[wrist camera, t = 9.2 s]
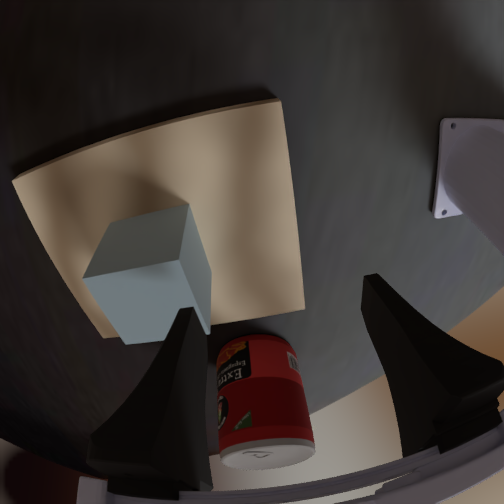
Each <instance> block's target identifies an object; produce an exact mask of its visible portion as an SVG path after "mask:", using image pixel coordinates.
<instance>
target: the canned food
mask: <svg viewBox="0 0 504 504" xmlns="http://www.w3.org/2000/svg"><path fill="white" fill-rule="evenodd" d="M217 404H218V434H219V451H220V457H221V462H222V463H223V464H224V465H226V466H229V467H232V468H237V469H245V470H264V469H274V468H281V467H285V466H290V465H293V464H297V463H299V462H302V461H304V460H307V459H308V458H310V457H311V456H312V455H314V454H315V443H314V438H313V431H312V427H311V422H310V417H309V412H308V408H307V403H306V398H305V393H304V389H303V384H302V380H301V375H300V370H299V366H298V361H297V357H296V353H295V352H294V350H293V349H292V347H291V346H290V344H289V343H288V342H286V341H285V340H283V339H281V338H279V337H276V336H271V335H264V334H255V335H247V336H242V337H239V338H236V339H234V340H232V341H230V342H228V343H227V344H226V345H224V347H223V348H222V349H221V351H220V353H219V355H218V358H217Z"/></svg>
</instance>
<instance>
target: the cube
mask: <svg viewBox="0 0 504 504" xmlns="http://www.w3.org/2000/svg"><path fill="white" fill-rule="evenodd" d="M82 280H83V281H84V283H85V285H86V286H87V288H88V289H89V291H90V293H91V294H92V296H93V297H94V299H95V300H96V302H97V304H98V305H99V307H100V308H101V310H102V311H103V313H104V314H105V316H106V317H107V319H108V320H109V322H110V323H111V324H112V326H113V327H114V329H115V330H116V332H117V333H118V334H119V336H120V337H121V339H122V340H123V341H124V343H125V344H135V343H144V342H153V341H162V340H165V338H166V336H167V334H168V332H169V330H170V328H171V325H172V323H173V321H174V319H175V317H176V315H177V312H178V310H179V309H180V308H186V307H193V306H194V309H195V311H196V313H197V315H198V318H199V320H200V322H201V325H202V327H203V329H204V331H205V333H206V335H207V334H210V320H211V283H212V271H211V268H210V265H209V262H208V259H207V256H206V253H205V250H204V247H203V244H202V241H201V238H200V235H199V232H198V229H197V226H196V223H195V220H194V217H193V214H192V210H191V207H190V204H186V205H181V206H177V207H172V208H168V209H164V210H160V211H155V212H151V213H147V214H143V215H139V216H135V217H131V218H127V219H123V220H119V221H115V222H112V223H110V224H109V226H108V228H107V230H106V231H105V233H104V235H103V237H102V239H101V241H100V243H99V245H98V247H97V249H96V251H95V253H94V255H93V257H92V259H91V261H90V263H89V265H88V267H87V269H86V271H85V273H84V276H83V278H82Z"/></svg>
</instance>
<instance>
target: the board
mask: <svg viewBox="0 0 504 504" xmlns="http://www.w3.org/2000/svg"><path fill="white" fill-rule="evenodd" d="M12 183H13V185H14V187H15V189H16V192H17V194H18V196H19V198H20V200H21V202H22V204H23V207H24V209H25V211H26V213H27V215H28V217H29V219H30V221H31V223H32V225H33V227H34V229H35V230H36V232H37V234H38V236H39V238H40V240H41V242H42V243H43V245H44V247H45V249H46V251H47V252H48V254H49V256H50V258H51V259H52V261H53V263H54V265H55V266H56V268H57V270H58V271H59V273H60V275H61V276H62V278H63V279H64V281H65V283H66V284H67V286H68V287H69V289H70V291H71V292H72V294H73V295H74V297H75V298H76V300H77V301H78V303H79V304H80V306H81V307H82V309H83V310H84V312H85V313H86V314H87V316H88V317H89V319H90V320H91V322H92V323H93V324H94V326H95V327H96V329H97V330H98V331H99V333H100V334H101V335H102V337H103V338H109V337H120V336H119V334H118V333H117V332H116V330H115V329H114V327H113V326H112V324H111V323H110V322H109V320H108V319H107V317H106V316H105V314H104V313H103V311H102V310H101V308H100V307H99V305H98V304H97V302H96V300H95V299H94V297H93V296H92V294H91V293H90V291H89V289H88V288H87V286H86V285H85V283H84V281H83V280H82V278H83V276H84V273H85V271H86V269H87V267H88V265H89V263H90V261H91V259H92V257H93V255H94V253H95V251H96V249H97V247H98V245H99V243H100V241H101V239H102V237H103V235H104V233H105V231H106V230H107V228H108V226H109V224H110V223H112V222H115V221H119V220H123V219H127V218H131V217H135V216H139V215H143V214H147V213H151V212H155V211H160V210H164V209H168V208H172V207H177V206H181V205H186V204H190V207H191V210H192V214H193V217H194V220H195V223H196V226H197V229H198V232H199V235H200V238H201V241H202V244H203V247H204V250H205V253H206V256H207V259H208V262H209V265H210V268H211V271H212V283H211V320H210V325H215V324H222V323H228V322H235V321H241V320H247V319H253V318H259V317H264V316H270V315H276V314H281V313H287V312H292V311H297V310H302V309H305V303H304V291H303V280H302V269H301V258H300V248H299V238H298V229H297V220H296V211H295V202H294V194H293V185H292V177H291V169H290V162H289V154H288V147H287V139H286V132H285V125H284V119H283V112H282V105H281V101H280V100H279V99H278V98H275V99H268V100H262V101H256V102H250V103H244V104H239V105H233V106H228V107H223V108H218V109H214V110H209V111H205V112H200V113H196V114H192V115H187V116H183V117H179V118H175V119H172V120H168V121H164V122H160V123H157V124H153V125H150V126H146V127H143V128H140V129H136V130H133V131H130V132H127V133H123V134H120V135H117V136H114V137H111V138H108V139H105V140H102V141H100V142H97V143H94V144H91V145H88V146H86V147H83V148H80V149H78V150H75V151H73V152H70V153H67V154H65V155H62V156H60V157H57V158H55V159H53V160H50V161H48V162H46V163H43V164H41V165H39V166H36V167H34V168H32V169H30V170H28V171H25V172H23V173H21V174H20V175H18V176H17V177H16V178H15V179H14V180H13V181H12Z"/></svg>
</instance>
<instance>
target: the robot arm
mask: <svg viewBox="0 0 504 504" xmlns="http://www.w3.org/2000/svg"><path fill="white" fill-rule="evenodd" d="M452 123H453V127H452V128H451V124H452ZM443 210H444V211H443ZM442 211H443V212H442ZM432 214H433V216H434V217H435V218H444V217H449V216H455V215H460V214H464V215H465V216H466V217H467V218H468V219H469V220H470V221H471V222H472V223H473V224H474V225H475V226H476V227H477V228H478V229H479V230H480V231H481V232H482V233H483V234H484V235H485V236H486V237H487V238H488V239H489V240H490V241H491V242H492V243H493V245H494V246H495V247H496V248H497V249H498V250H499V251H500V252H501V253H502V254H503V256H504V120H502V119H481V118H444V119H442V121H441V123H440V139H439V155H438V167H437V178H436V187H435V195H434V203H433V210H432ZM361 311H362V315H363V318H364V322H365V325H366V328H367V331H368V333H369V336H370V338H371V340H372V343H373V345H374V347H375V350H376V352H377V354H378V357H379V359H380V361H381V364H382V366H383V369H384V371H385V374H386V377H387V380H388V384H389V387H390V391H391V395H392V399H393V403H394V407H395V412H396V417H397V422H398V427H399V432H400V439H401V446H402V455H403V458H402V459H399V460H396V461H393V462H389V463H386V464H383V465H380V466H376V467H373V468H369V469H366V470H362V471H358V472H354V473H350V474H346V475H341V476H337V477H332V478H328V479H322V480H317V481H312V482H306V483H300V484H293V485H286V486H279V487H270V488H260V489H249V490H235V491H211V490H212V489H213V483H212V477H211V470H210V463H209V455H208V446H207V435H206V421H205V395H206V380H207V365H208V348H207V336H206V333H205V331H204V329H203V327H202V325H201V322H200V320H199V318H198V315H197V313H196V311H195V309H194V306H193V307H186V308H180V309H179V310H178V312H177V315H176V317H175V319H174V321H173V323H172V325H171V328H170V330H169V332H168V334H167V336H166V338H165V340H164V342H163V344H162V346H161V347H160V349H159V351H158V353H157V355H156V357H155V358H154V360H153V362H152V363H151V365H150V367H149V369H148V370H147V372H146V373H145V375H144V376H143V378H142V379H141V381H140V382H139V384H138V385H137V386H136V388H135V389H134V390H133V392H132V393H131V394H130V395H129V397H128V398H127V399H126V400H125V402H124V403H123V404H122V405H121V406H120V407H119V408H118V409H117V410H116V411H115V413H114V414H113V415H112V416H111V417H110V418H109V419H108V420H107V421H106V422H105V423H103V424H102V425H101V426H100V427H99V428H98V429H97V430H96V431H94V432H93V433H92V434H91V436H90V440H89V445H88V451H87V459H86V462H87V464H88V465H89V466H90V467H92V468H94V469H96V470H98V471H100V472H101V473H103V474H105V475H107V476H109V477H108V482H107V481H104V480H99V479H94V478H88V477H83V476H81V477H80V480H79V488H78V496H77V504H279V503H287V502H294V501H300V500H307V499H313V498H319V497H324V496H329V495H333V494H338V493H343V492H347V491H351V490H355V489H359V488H363V487H367V486H370V485H373V484H377V483H380V482H384V481H387V480H390V479H393V478H397V477H399V478H397V479H395V480H392V481H389V482H387V483H384V484H383V486H382V488H380V489H378V490H376V491H375V495H370V496H366V497H362V498H358V499H353V500H349V501H344V502H340V503H335V504H439V503H441V502H443V501H445V500H448V499H450V498H452V497H454V496H456V495H458V494H460V493H462V492H464V491H466V490H468V489H470V488H472V487H474V486H475V485H477V484H479V483H481V482H482V481H484V480H486V479H488V478H490V477H491V476H493V475H495V474H496V473H498V472H500V471H501V470H503V469H504V409H503V410H502V411H501V412H499V411H498V409H497V407H498V406H499V402H498V399H497V398H498V396H499V395H500V394H501V393H502V392H503V391H504V365H503V363H502V362H501V361H499V360H497V359H495V358H492V357H490V356H487V355H485V354H482V353H480V352H478V351H476V350H474V349H472V348H470V347H468V346H467V345H465V344H463V343H461V342H460V341H458V340H456V339H455V338H453V337H451V336H450V335H448V334H447V333H445V332H444V331H442V330H441V329H439V328H438V327H437V326H435V325H434V324H433V323H431V322H430V321H429V320H428V319H426V318H425V317H424V316H423V315H421V314H420V313H419V312H418V311H417V310H416V309H414V308H413V307H412V306H411V305H410V304H409V303H408V302H407V301H406V300H405V299H403V298H402V297H401V296H400V295H399V294H398V293H397V292H396V291H395V290H394V289H393V288H392V287H391V286H390V285H389V284H388V283H387V282H386V281H385V280H384V279H383V278H382V277H381V276H380V275H379V274H377V273H376V274H371V275H366V276H364V280H363V291H362V302H361ZM411 472H412V473H411ZM408 473H409V474H408ZM405 474H407V475H405ZM403 475H404V476H403ZM400 476H402V477H400Z"/></svg>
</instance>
